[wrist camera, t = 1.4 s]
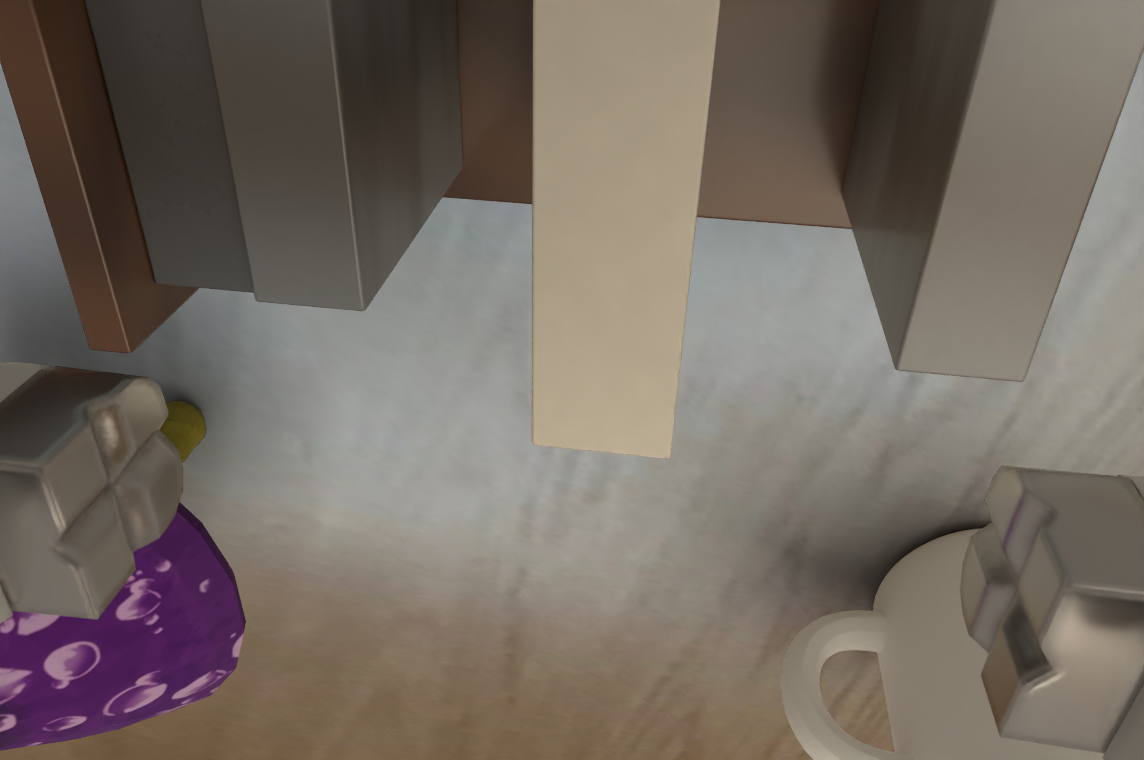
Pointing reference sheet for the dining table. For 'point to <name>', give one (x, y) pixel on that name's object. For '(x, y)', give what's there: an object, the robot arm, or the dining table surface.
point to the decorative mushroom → (128, 636)
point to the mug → (909, 670)
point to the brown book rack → (505, 146)
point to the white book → (614, 214)
